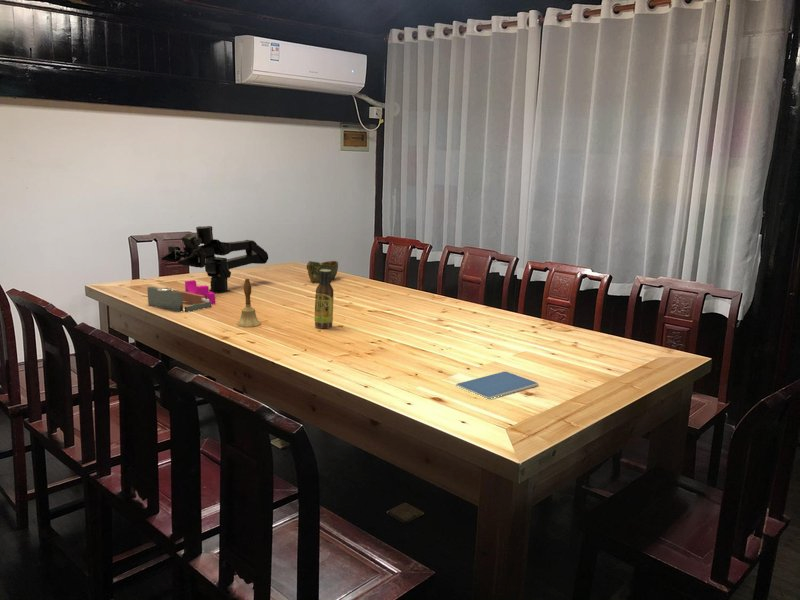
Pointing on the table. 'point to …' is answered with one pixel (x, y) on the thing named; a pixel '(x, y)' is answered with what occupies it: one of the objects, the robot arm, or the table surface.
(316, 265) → the dark green lobed piece
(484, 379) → the blue notebook
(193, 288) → the toy block
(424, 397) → the table surface
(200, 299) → the gauge plunger
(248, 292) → the hand bell
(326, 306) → the sauce bottle
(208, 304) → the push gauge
